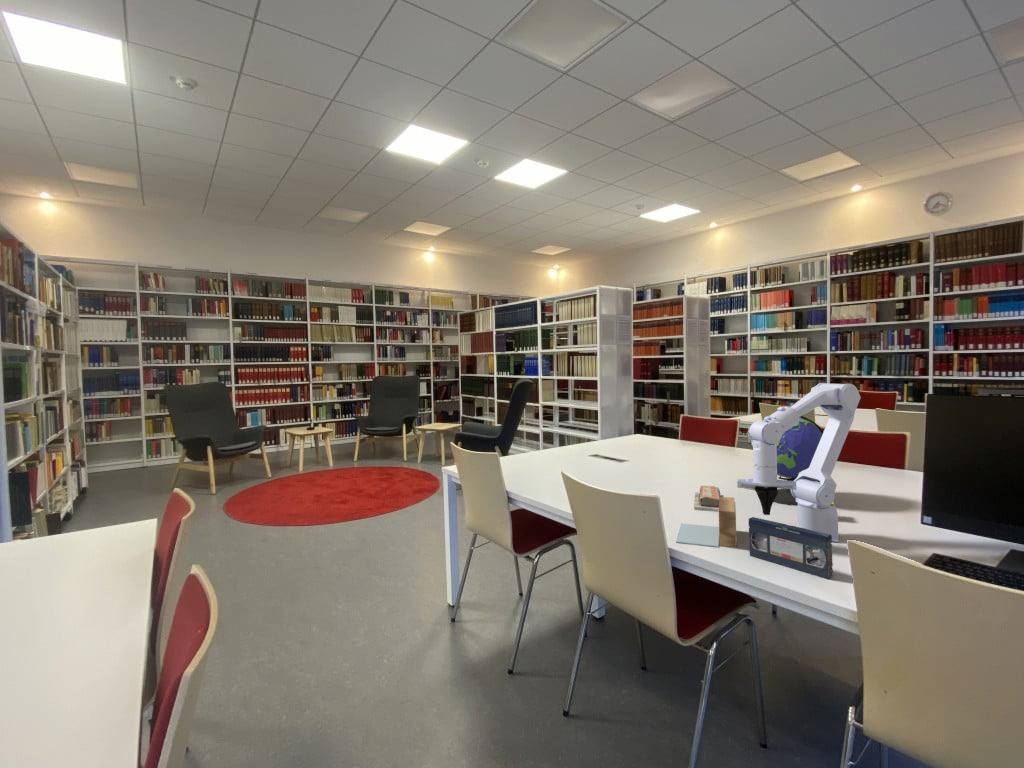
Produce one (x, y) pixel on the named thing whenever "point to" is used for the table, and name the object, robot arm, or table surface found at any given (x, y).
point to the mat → (698, 535)
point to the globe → (796, 454)
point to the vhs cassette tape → (791, 547)
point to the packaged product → (707, 498)
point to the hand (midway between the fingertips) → (766, 513)
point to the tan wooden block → (727, 522)
